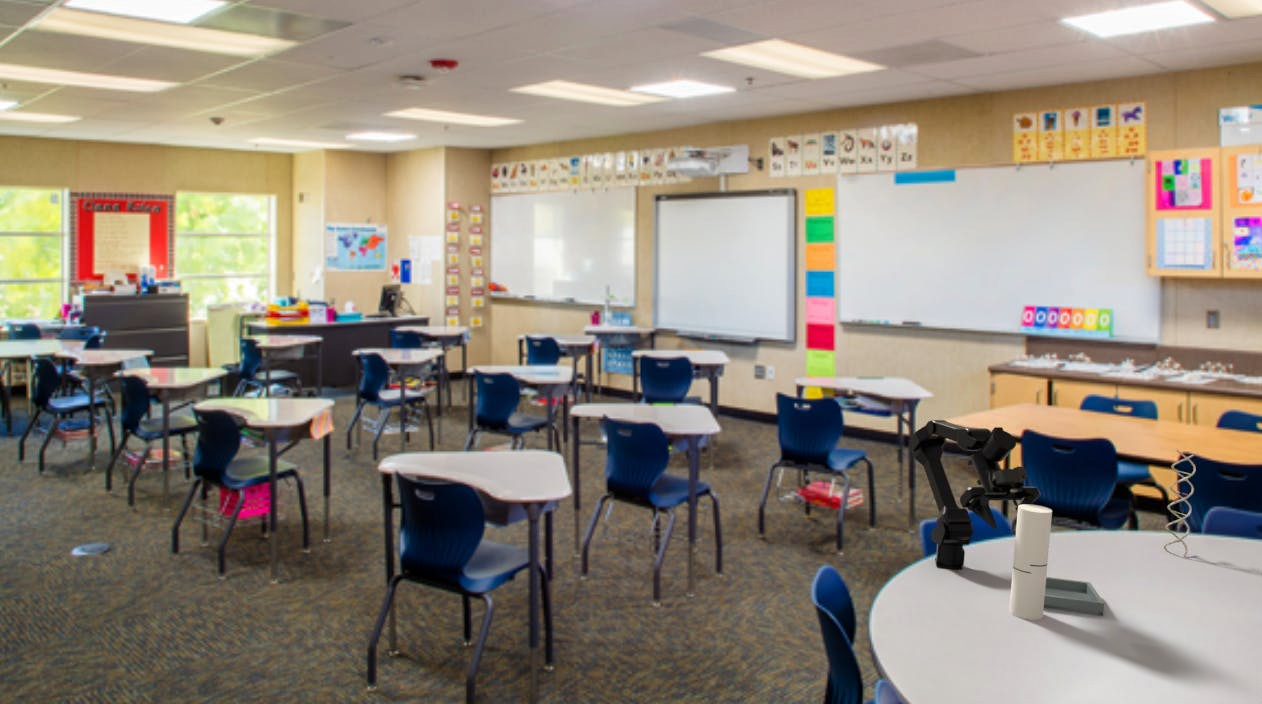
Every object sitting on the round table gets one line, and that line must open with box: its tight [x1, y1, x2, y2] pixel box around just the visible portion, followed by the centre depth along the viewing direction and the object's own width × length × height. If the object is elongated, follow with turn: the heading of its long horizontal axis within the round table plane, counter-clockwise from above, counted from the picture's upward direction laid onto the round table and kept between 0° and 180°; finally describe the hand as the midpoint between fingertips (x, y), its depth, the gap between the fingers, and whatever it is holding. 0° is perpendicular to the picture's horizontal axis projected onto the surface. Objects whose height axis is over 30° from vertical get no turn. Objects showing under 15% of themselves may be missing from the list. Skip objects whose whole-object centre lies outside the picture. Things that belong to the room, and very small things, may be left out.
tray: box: [1044, 576, 1105, 617], centre depth 216 cm, size 15×15×3 cm
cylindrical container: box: [1008, 504, 1053, 621], centre depth 205 cm, size 7×7×25 cm
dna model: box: [1163, 449, 1197, 557], centre depth 256 cm, size 7×6×30 cm
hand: (1012, 528), depth 212 cm, fingers open, 9 cm apart
